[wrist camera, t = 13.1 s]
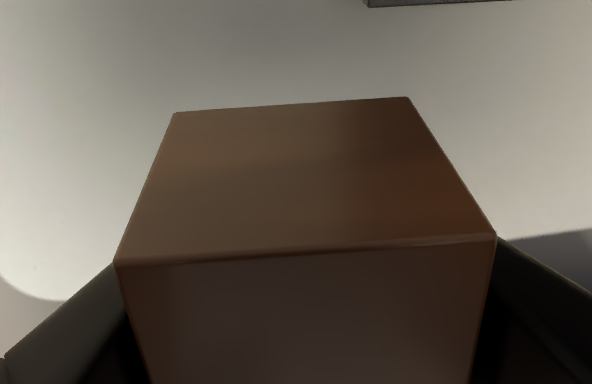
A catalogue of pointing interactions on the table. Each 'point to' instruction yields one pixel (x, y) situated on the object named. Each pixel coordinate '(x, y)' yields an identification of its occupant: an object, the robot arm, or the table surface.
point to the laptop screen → (416, 2)
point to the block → (305, 250)
